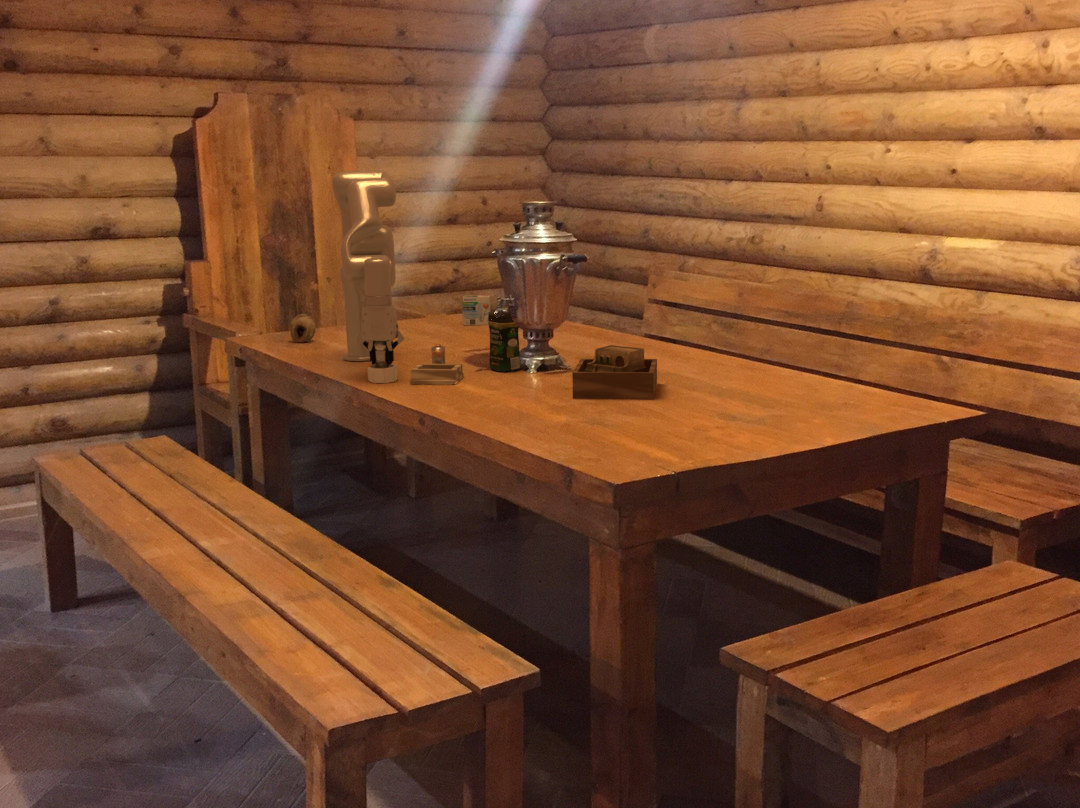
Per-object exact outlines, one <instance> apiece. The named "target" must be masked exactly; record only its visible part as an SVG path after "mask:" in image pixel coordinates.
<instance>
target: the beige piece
mask: <svg viewBox="0 0 1080 808" xmlns="http://www.w3.org/2000/svg"><path fill="white" fill-rule="evenodd" d="M397 379H398V365H397V364H394V363H392V364H390V365H389V368H375V364H374V365H372V364H370V365H368V366H367V381H368V382H369V381H370V382H373V383H372V384H376V383H384V384H390V383H389V382H392V383H395V382H397V381H398V380H397ZM396 380H397V381H396ZM394 381H395V382H394ZM370 382H369V383H370Z"/></svg>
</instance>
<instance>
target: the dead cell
mask: <svg viewBox="0 0 1080 808" xmlns="http://www.w3.org/2000/svg"><path fill="white" fill-rule="evenodd" d="M387 351H388V346H387V342H386V341H374V352H375V368H389V365H388V364H387Z"/></svg>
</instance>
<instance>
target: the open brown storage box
mask: <svg viewBox="0 0 1080 808" xmlns="http://www.w3.org/2000/svg"><path fill="white" fill-rule="evenodd" d="M593 361H594V358H580V360H579V361H578V362H577V364H576V366H575V368H574V369H573V370H572V399H587V400H588V399H590V400H591V399H599V400H600V399H601V400H602V399H606V400H609V399H611V400H613V399H614V400H616V399H617V400H620V399H621V400H654V398H655V394H656V389H657V385H658V359H657V358H644V365H645V366H646V367H647V368H645V369H644V372H587V371H584V370H585V369H586V367H587V363H591V362H593Z"/></svg>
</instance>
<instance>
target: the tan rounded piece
mask: <svg viewBox="0 0 1080 808" xmlns="http://www.w3.org/2000/svg"><path fill="white" fill-rule="evenodd" d="M290 324H291V325H290V328H289V331H290V336H291V340H292V341H294V342H296V343H302V344H303V343H309V342H311V340H312V339H313V338H314V337H315V334H316V328H317V327H316V323H315V322H314V320H313V319H312V316H310V315H307V314H306V313H301V314H298V315H296V316H295V317H293V319H292V320H291V322H290Z"/></svg>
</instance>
